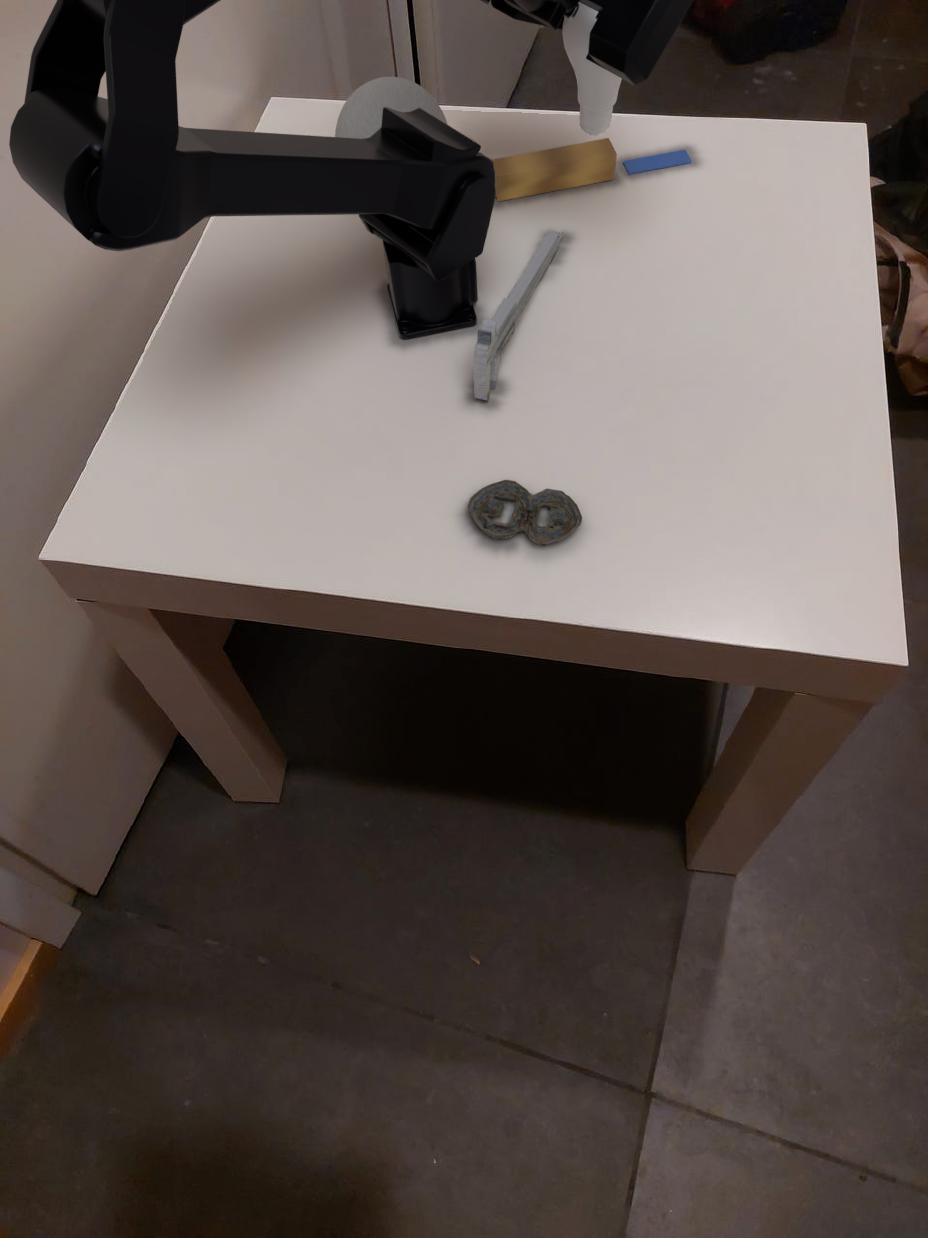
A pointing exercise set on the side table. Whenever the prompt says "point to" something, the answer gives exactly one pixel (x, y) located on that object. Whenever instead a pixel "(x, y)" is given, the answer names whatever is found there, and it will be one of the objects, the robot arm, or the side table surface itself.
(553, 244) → the caliper
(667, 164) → the tape mark
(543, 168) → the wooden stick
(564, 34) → the lightbulb
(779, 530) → the side table surface
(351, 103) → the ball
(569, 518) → the corroded twin loop
